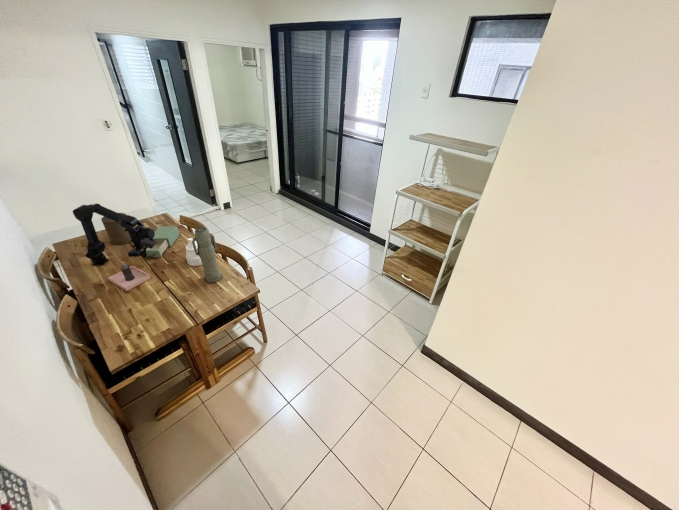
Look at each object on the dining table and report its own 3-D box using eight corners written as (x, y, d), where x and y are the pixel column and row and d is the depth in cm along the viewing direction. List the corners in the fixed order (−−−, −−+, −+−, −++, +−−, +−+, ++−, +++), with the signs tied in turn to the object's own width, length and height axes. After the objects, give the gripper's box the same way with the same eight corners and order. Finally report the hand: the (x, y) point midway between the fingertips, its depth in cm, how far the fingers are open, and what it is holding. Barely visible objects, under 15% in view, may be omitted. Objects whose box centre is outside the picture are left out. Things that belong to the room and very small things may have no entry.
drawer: (158, 260, 181) (156, 253, 178) (140, 260, 179) (137, 254, 176) (170, 243, 198) (168, 237, 195) (153, 244, 196) (151, 237, 193)
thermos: (226, 276, 172) (215, 228, 153) (208, 286, 164) (194, 236, 145) (218, 271, 177) (206, 223, 157) (200, 279, 169) (186, 230, 149)
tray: (109, 280, 163) (107, 277, 162) (134, 268, 174) (132, 265, 172) (126, 291, 157) (125, 287, 155) (150, 277, 167) (149, 274, 166)
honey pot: (203, 266, 180) (197, 243, 170) (183, 265, 179) (176, 242, 169) (211, 255, 190) (205, 233, 180) (192, 254, 190) (186, 232, 180)
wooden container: (133, 232, 209) (122, 205, 197) (138, 240, 201) (126, 213, 188) (109, 238, 201) (96, 211, 188) (113, 247, 192) (99, 219, 180)
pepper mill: (124, 278, 165) (117, 263, 159) (134, 275, 168) (127, 260, 162) (126, 282, 162) (118, 267, 156) (135, 279, 165) (128, 264, 159)
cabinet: (170, 246, 196) (167, 238, 192) (152, 246, 195) (148, 238, 191) (179, 234, 211) (177, 226, 207) (162, 234, 209) (159, 226, 205)
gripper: (143, 244, 160) (152, 266, 169) (157, 229, 175) (164, 249, 184) (122, 245, 158) (132, 266, 167) (138, 229, 174) (146, 249, 182)
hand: (145, 257), depth 175 cm, fingers closed
